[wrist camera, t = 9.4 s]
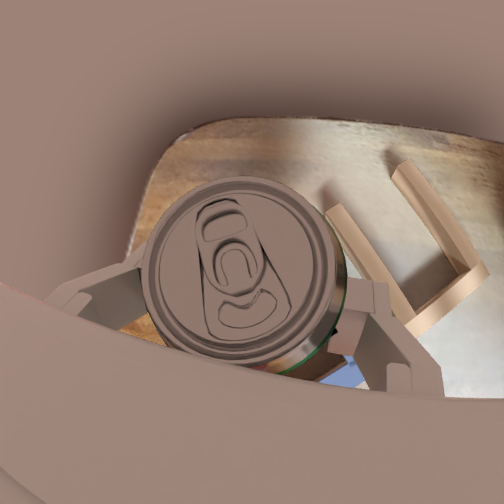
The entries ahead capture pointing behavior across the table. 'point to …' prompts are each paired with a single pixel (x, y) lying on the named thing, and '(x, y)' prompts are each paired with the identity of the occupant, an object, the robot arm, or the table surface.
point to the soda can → (244, 275)
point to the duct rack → (442, 231)
